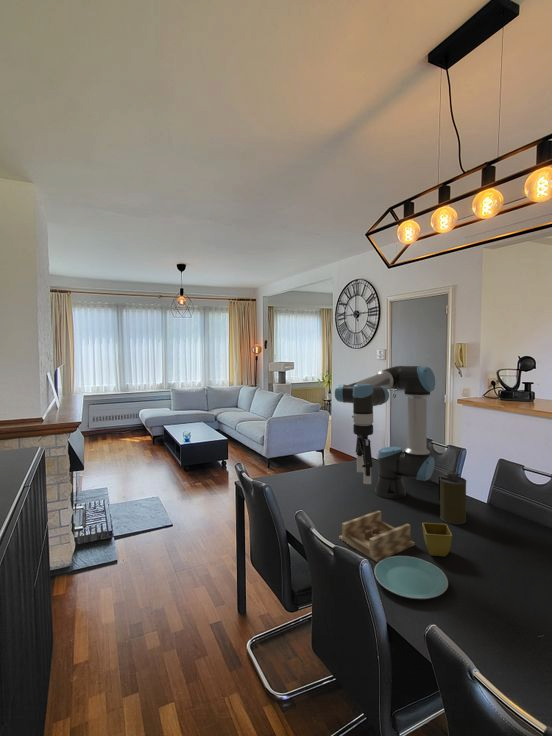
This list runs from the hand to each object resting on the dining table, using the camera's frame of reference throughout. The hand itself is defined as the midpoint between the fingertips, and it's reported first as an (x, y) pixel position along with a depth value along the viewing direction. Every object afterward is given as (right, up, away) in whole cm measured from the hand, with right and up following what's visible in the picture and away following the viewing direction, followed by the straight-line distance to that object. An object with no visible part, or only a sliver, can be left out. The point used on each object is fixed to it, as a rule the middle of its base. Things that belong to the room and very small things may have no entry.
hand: (363, 477), depth 151 cm
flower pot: (+24, -24, -11) cm, 36 cm away
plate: (+8, -26, -28) cm, 39 cm away
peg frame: (+4, -24, -2) cm, 25 cm away
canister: (+42, -22, +15) cm, 49 cm away
